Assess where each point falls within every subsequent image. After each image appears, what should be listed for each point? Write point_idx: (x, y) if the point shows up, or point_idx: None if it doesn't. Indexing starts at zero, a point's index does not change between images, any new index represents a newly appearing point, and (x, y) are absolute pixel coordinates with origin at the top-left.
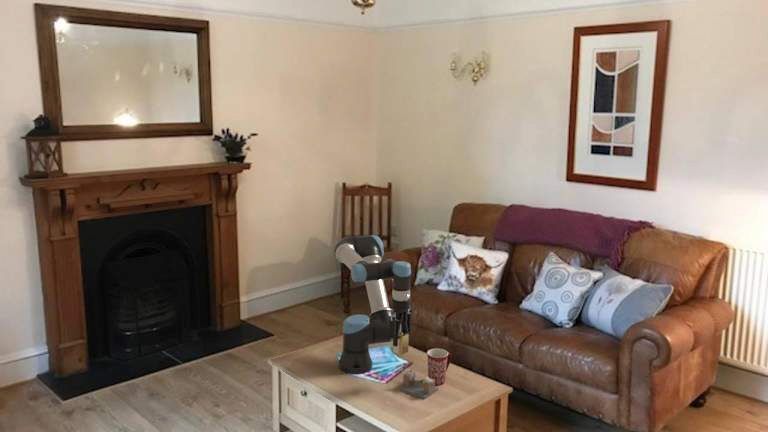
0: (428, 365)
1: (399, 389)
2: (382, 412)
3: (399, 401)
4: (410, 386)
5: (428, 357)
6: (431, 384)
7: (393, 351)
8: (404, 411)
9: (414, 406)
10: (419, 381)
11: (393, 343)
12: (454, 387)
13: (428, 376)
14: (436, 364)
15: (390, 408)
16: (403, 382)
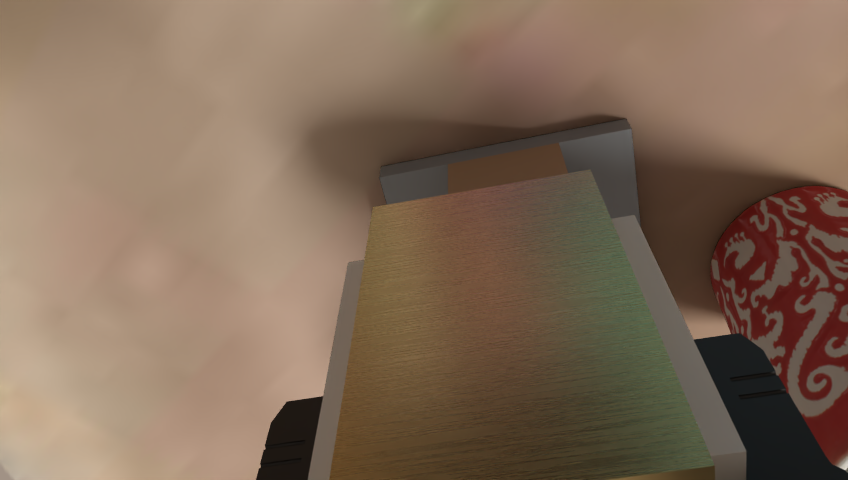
0: (785, 343)
1: (382, 168)
2: (23, 353)
3: (244, 314)
4: None
5: (823, 428)
6: None
7: (348, 272)
8: (190, 426)
9: None
10: (638, 206)
11: (267, 458)
12: None
13: (747, 252)
14: None
15: (114, 347)
16: (448, 179)
